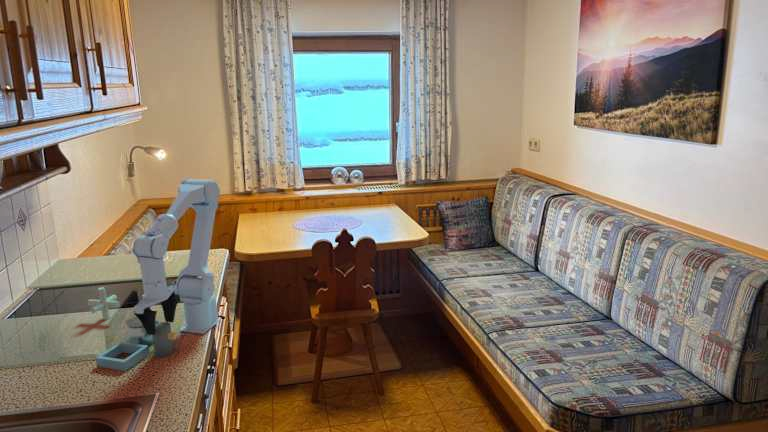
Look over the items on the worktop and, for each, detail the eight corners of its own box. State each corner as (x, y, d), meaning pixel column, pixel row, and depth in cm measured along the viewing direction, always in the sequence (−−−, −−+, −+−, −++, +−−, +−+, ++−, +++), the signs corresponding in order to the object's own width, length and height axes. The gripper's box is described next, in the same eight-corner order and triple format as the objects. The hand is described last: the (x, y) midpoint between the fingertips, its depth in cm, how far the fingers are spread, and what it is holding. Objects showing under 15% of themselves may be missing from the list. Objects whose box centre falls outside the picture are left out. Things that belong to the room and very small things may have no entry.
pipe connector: (109, 326, 168) (104, 295, 165) (80, 324, 170) (75, 293, 167) (130, 312, 177) (126, 283, 175) (103, 310, 179) (98, 281, 177)
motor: (145, 332, 164) (142, 311, 162) (166, 334, 162) (163, 313, 160) (118, 349, 154) (115, 327, 152) (140, 352, 152) (137, 330, 150)
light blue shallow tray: (122, 349, 154) (120, 341, 153) (149, 354, 151) (148, 345, 150) (97, 366, 145) (95, 357, 145) (125, 371, 143) (124, 362, 142)
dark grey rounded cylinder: (162, 347, 154) (158, 321, 152) (182, 350, 153) (179, 323, 150) (150, 356, 150) (146, 329, 148) (171, 359, 148) (167, 331, 146)
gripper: (159, 269, 154) (165, 314, 157) (121, 288, 140) (128, 338, 144) (181, 271, 152) (187, 317, 155) (145, 291, 138) (152, 341, 142)
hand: (160, 327), depth 150 cm, fingers open, 7 cm apart
